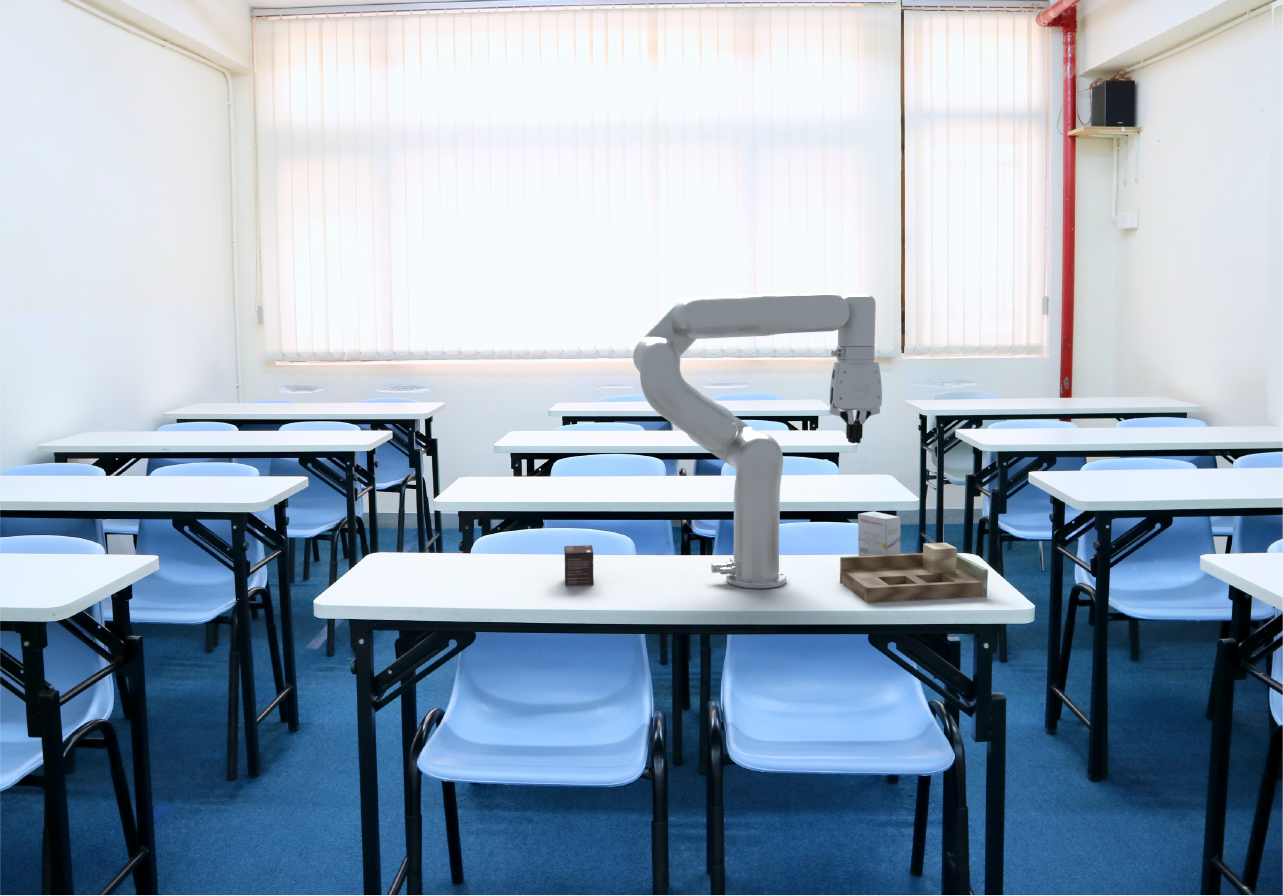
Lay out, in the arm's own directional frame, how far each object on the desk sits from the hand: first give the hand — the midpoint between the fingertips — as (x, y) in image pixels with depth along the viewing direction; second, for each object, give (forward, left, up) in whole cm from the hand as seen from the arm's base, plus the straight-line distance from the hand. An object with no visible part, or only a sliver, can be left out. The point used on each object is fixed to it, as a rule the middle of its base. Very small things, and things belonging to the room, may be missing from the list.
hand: (854, 442), depth 204 cm
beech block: (+16, -8, -26) cm, 32 cm away
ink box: (+9, +7, -29) cm, 31 cm away
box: (-58, +6, -29) cm, 65 cm away
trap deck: (+8, -11, -29) cm, 32 cm away
